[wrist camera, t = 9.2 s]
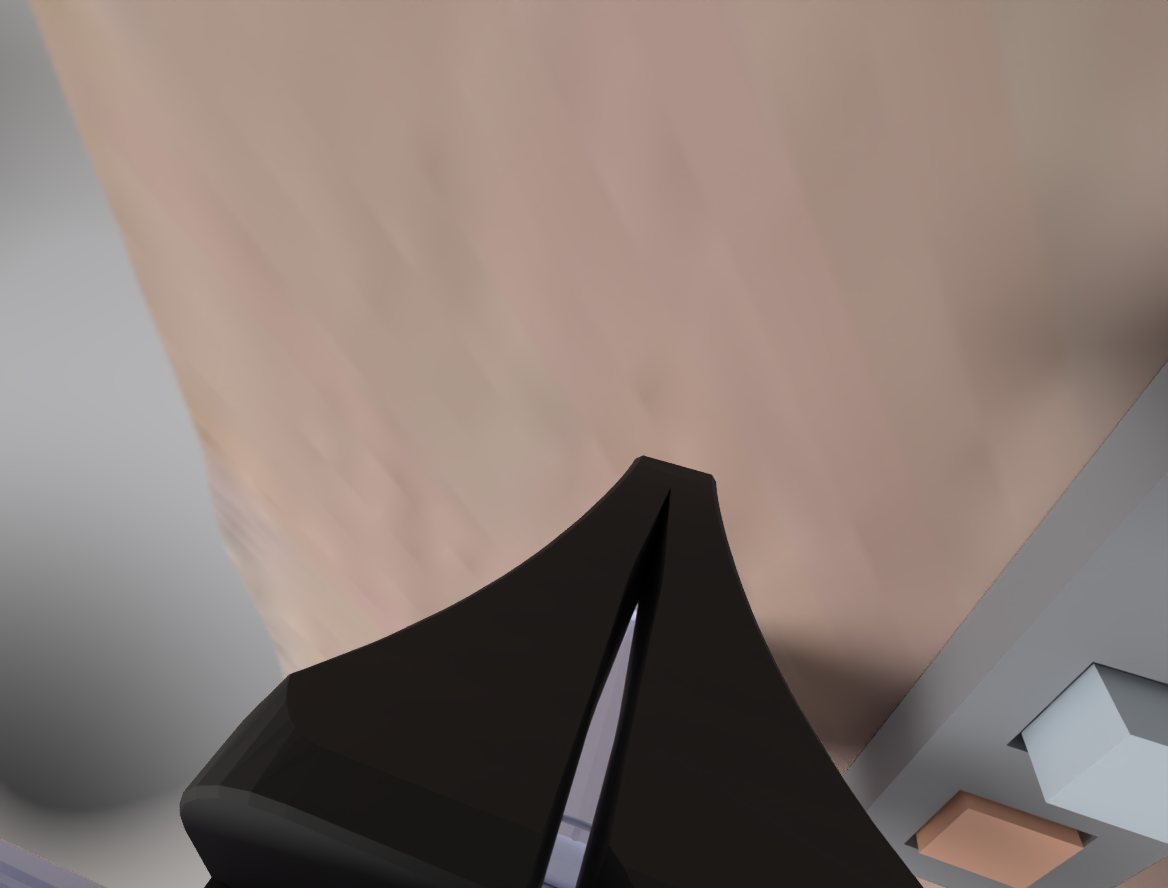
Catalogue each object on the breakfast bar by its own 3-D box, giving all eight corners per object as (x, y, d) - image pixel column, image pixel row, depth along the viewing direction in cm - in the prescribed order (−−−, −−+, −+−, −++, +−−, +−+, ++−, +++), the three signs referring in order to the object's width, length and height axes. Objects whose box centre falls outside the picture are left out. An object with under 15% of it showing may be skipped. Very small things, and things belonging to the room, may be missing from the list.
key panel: (1030, 861, 27) (1049, 926, 25) (831, 791, 28) (834, 846, 26) (1675, 392, 13) (1840, 453, 11) (1216, 298, 14) (1286, 337, 12)
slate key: (1147, 773, 20) (1187, 850, 18) (1021, 732, 20) (1046, 802, 19) (1239, 706, 18) (1295, 786, 16) (1093, 663, 18) (1130, 734, 16)
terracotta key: (1004, 827, 26) (1022, 890, 24) (909, 794, 26) (919, 853, 24) (1059, 783, 23) (1083, 848, 21) (953, 748, 24) (968, 808, 22)
